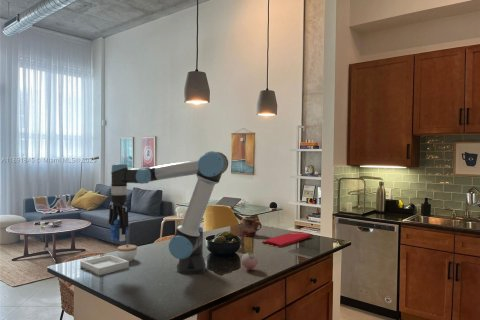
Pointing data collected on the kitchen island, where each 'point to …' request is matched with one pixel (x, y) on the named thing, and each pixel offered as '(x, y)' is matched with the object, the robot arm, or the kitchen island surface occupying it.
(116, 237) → the grapes
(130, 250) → the lidded jar
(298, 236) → the dish drying mat
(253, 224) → the decorative planter
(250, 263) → the decorative fruit
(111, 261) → the tray
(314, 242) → the kitchen island surface
